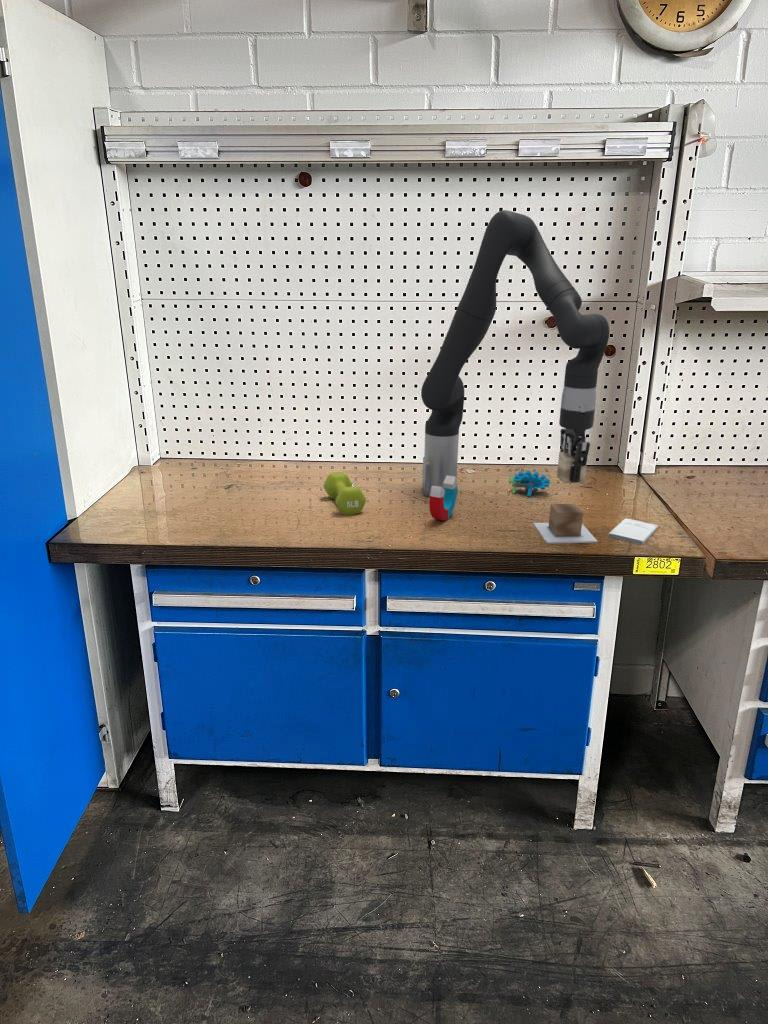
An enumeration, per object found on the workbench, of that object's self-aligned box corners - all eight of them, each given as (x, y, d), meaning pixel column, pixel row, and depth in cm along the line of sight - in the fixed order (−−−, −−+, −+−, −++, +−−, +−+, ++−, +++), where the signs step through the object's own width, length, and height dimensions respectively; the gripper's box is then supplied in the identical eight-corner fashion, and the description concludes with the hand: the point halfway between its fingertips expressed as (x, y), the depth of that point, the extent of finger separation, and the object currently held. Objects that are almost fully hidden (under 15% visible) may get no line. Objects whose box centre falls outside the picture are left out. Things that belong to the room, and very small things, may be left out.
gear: (554, 486, 195) (546, 468, 187) (550, 505, 193) (542, 487, 185) (516, 485, 201) (506, 468, 193) (512, 503, 198) (502, 486, 190)
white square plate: (546, 543, 161) (547, 541, 161) (533, 524, 172) (533, 522, 172) (597, 542, 162) (597, 541, 162) (580, 523, 173) (580, 522, 173)
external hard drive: (607, 539, 166) (624, 523, 175) (642, 547, 161) (657, 530, 171) (608, 532, 165) (624, 517, 175) (643, 540, 161) (658, 524, 170)
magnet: (446, 510, 181) (448, 474, 178) (456, 512, 180) (458, 475, 177) (428, 525, 172) (429, 487, 168) (438, 527, 170) (440, 488, 167)
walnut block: (555, 536, 164) (558, 512, 162) (548, 527, 170) (550, 504, 168) (580, 536, 165) (583, 512, 162) (572, 526, 170) (575, 503, 168)
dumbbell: (322, 497, 191) (321, 472, 188) (350, 494, 193) (350, 469, 190) (337, 518, 176) (337, 491, 174) (367, 514, 178) (367, 488, 176)
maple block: (563, 483, 160) (565, 458, 158) (556, 476, 165) (559, 452, 163) (584, 482, 160) (587, 457, 158) (577, 476, 165) (580, 451, 163)
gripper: (552, 399, 163) (546, 469, 169) (571, 413, 149) (564, 488, 155) (583, 399, 163) (576, 468, 169) (605, 412, 150) (597, 487, 156)
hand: (570, 477), depth 162 cm, fingers closed on maple block, 5 cm apart
